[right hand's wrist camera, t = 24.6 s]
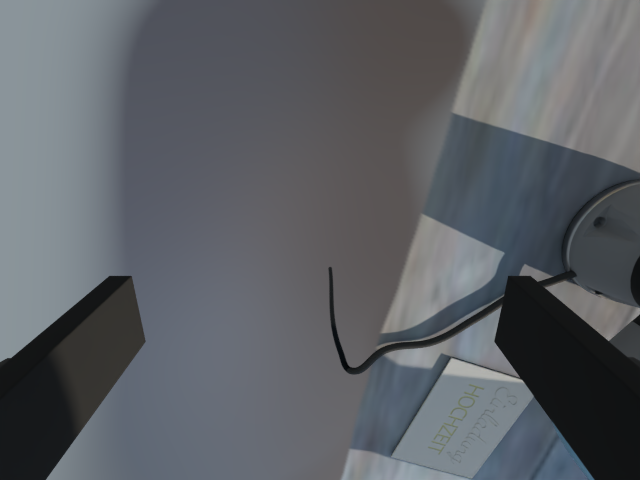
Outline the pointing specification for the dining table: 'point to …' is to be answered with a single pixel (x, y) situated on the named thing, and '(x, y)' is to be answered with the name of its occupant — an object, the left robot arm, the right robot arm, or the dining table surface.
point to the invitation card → (463, 419)
